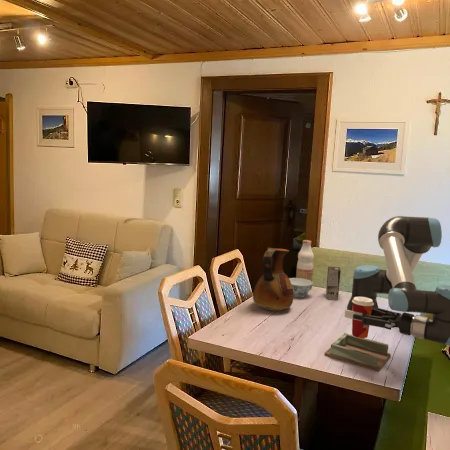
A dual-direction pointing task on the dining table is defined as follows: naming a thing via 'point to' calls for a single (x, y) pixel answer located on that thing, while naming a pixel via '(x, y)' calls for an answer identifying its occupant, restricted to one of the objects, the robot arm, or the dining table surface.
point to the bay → (359, 351)
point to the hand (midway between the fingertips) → (349, 310)
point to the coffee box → (333, 283)
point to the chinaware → (300, 286)
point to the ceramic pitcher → (273, 282)
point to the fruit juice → (305, 262)
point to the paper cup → (364, 307)
